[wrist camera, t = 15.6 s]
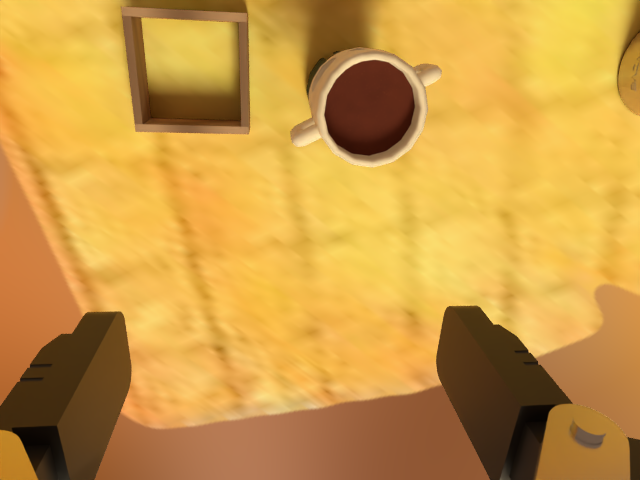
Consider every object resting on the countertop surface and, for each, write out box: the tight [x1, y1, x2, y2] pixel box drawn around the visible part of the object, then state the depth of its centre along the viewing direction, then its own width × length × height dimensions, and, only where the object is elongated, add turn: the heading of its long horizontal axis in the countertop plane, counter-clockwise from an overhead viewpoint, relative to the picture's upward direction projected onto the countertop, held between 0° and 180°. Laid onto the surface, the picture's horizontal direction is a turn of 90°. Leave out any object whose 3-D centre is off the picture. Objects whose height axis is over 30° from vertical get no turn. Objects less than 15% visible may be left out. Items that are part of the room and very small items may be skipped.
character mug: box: [290, 47, 442, 167], centre depth 34 cm, size 11×7×13 cm, turn 115°
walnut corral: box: [121, 7, 250, 134], centre depth 37 cm, size 9×9×3 cm
